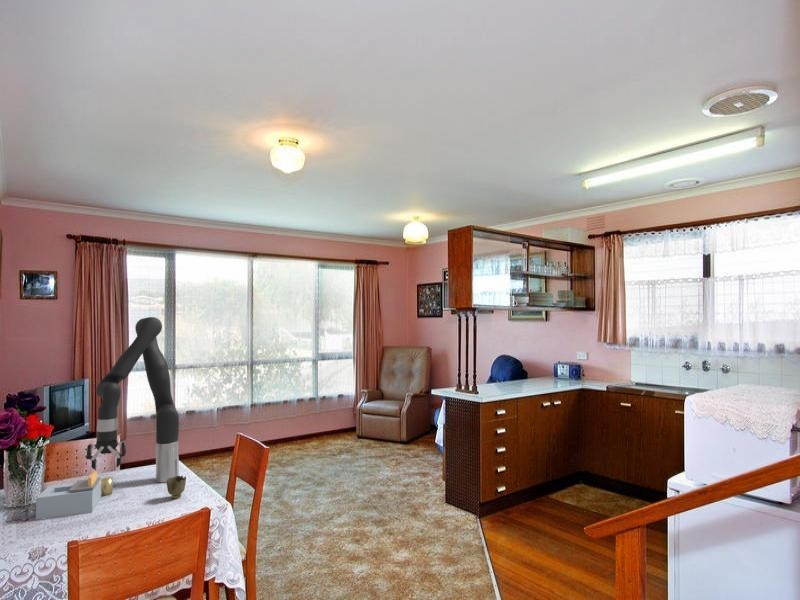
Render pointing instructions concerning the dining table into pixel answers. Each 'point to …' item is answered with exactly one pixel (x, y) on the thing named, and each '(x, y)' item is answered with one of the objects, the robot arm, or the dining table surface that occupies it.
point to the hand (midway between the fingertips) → (106, 467)
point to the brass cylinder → (106, 486)
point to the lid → (86, 483)
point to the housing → (66, 501)
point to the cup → (176, 486)
